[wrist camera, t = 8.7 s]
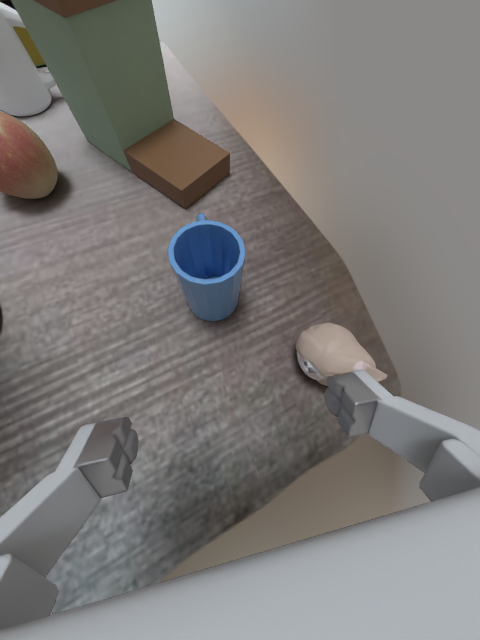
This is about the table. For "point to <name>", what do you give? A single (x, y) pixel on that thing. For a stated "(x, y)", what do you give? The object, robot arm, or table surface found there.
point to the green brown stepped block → (123, 91)
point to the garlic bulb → (332, 353)
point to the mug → (20, 71)
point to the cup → (208, 267)
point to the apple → (24, 161)
